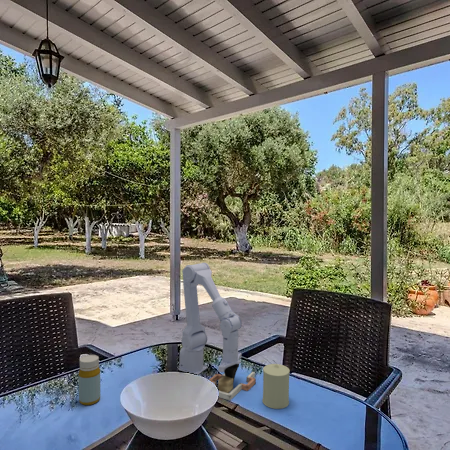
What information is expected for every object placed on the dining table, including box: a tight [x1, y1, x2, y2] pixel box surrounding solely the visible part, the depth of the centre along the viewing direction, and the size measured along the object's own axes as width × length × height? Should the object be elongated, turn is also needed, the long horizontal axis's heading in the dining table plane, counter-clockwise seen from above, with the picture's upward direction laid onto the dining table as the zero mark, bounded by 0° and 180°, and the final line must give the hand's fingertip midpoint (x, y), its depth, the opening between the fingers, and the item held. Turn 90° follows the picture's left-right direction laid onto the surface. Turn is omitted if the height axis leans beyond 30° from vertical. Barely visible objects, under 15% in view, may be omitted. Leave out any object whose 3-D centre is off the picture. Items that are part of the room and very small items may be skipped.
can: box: [262, 363, 291, 410], centre depth 129 cm, size 9×9×12 cm
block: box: [217, 376, 234, 393], centre depth 137 cm, size 4×4×4 cm
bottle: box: [78, 354, 101, 406], centre depth 128 cm, size 7×7×15 cm
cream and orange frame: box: [208, 371, 257, 401], centre depth 141 cm, size 15×20×2 cm
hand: (230, 383), depth 140 cm, fingers closed
